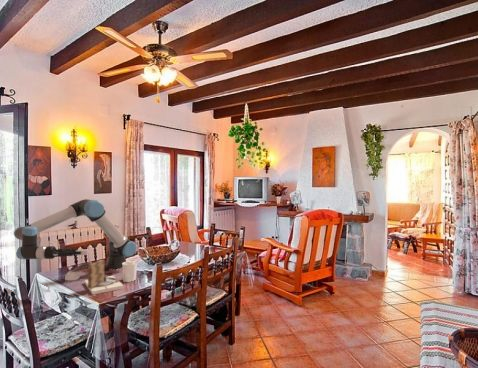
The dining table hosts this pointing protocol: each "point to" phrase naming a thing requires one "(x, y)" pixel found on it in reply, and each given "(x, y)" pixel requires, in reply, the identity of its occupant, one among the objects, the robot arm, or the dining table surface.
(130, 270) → the candle holder
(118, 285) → the dial plate
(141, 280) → the dining table surface
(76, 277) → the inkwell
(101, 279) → the wooden bookend
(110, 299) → the dining table surface
